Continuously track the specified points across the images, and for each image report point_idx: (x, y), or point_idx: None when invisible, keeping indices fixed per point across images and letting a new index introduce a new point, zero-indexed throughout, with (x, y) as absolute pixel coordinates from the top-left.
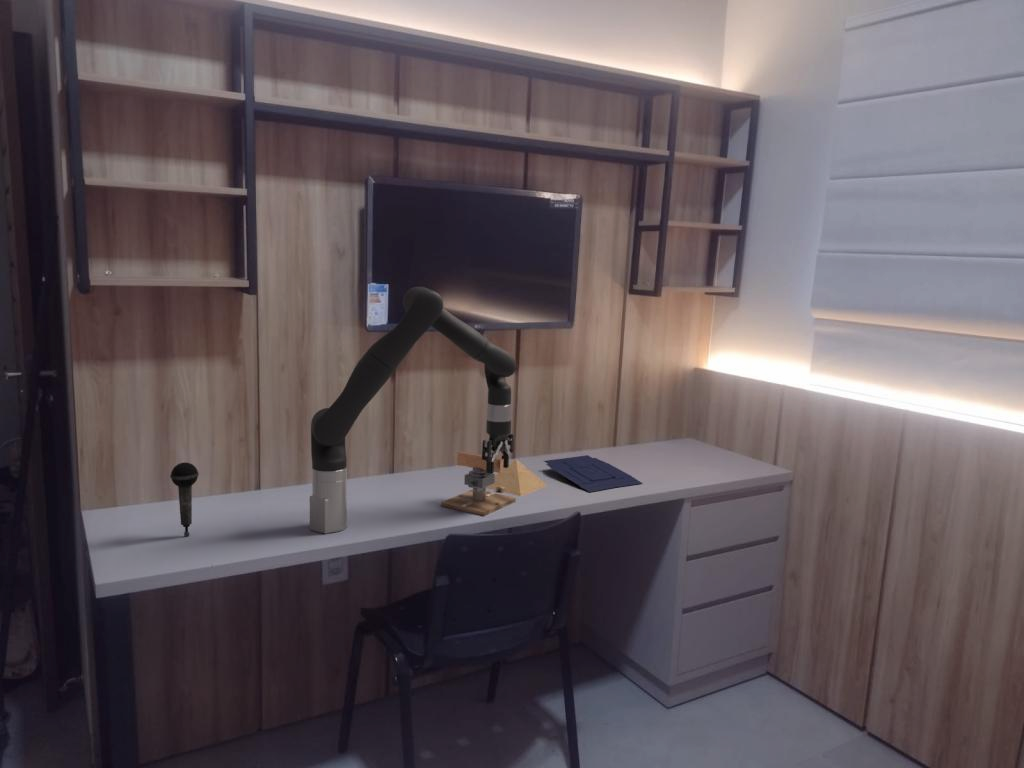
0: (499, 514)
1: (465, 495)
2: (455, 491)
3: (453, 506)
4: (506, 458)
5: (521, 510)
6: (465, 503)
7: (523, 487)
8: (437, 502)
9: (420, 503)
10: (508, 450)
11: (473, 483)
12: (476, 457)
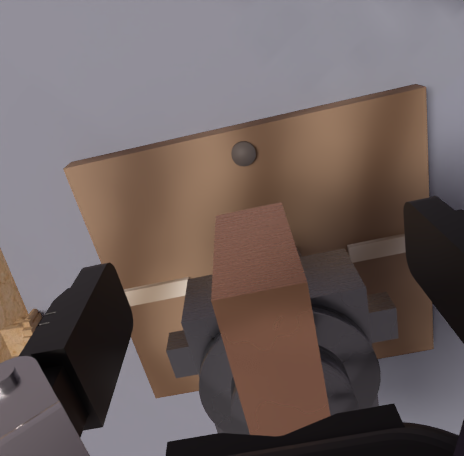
0: (327, 44)
1: None
2: (215, 433)
3: None
4: (82, 343)
5: (160, 3)
6: (368, 268)
7: None
8: (392, 377)
9: (451, 405)
10: (6, 432)
11: (382, 313)
12: None
